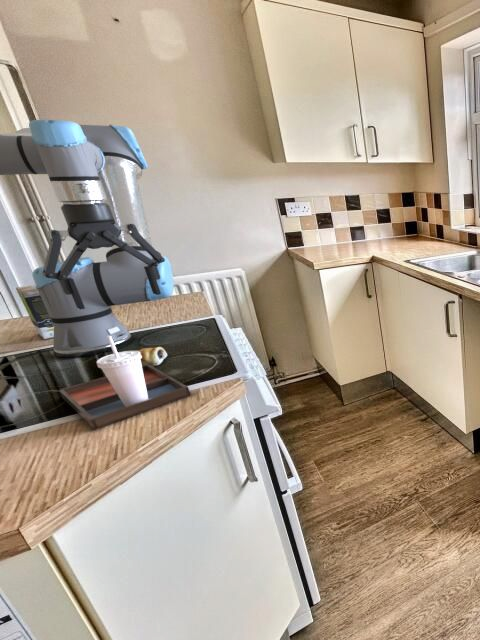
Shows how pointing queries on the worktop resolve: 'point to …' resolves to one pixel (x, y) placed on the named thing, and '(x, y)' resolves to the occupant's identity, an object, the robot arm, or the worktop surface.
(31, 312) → the tea box
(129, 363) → the smoothie
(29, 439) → the worktop surface
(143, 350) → the pastry
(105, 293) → the robot arm
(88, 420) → the sorting tray
